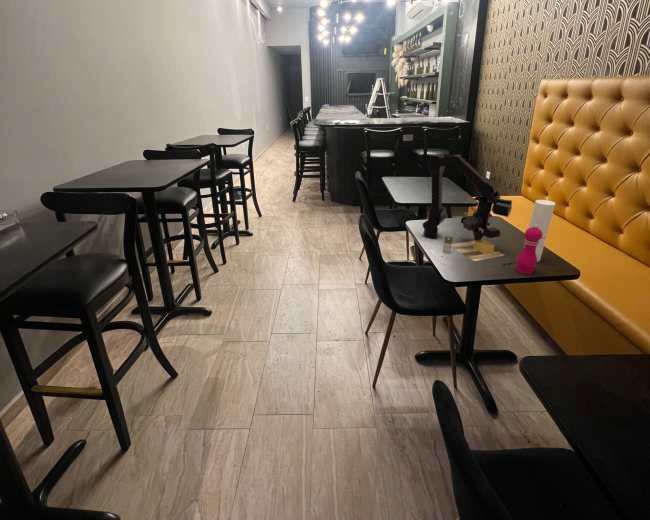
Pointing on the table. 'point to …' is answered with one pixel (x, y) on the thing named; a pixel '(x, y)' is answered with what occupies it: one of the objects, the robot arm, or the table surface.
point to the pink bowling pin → (529, 251)
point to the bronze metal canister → (447, 244)
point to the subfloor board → (473, 251)
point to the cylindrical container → (542, 221)
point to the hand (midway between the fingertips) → (476, 243)
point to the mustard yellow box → (483, 246)
